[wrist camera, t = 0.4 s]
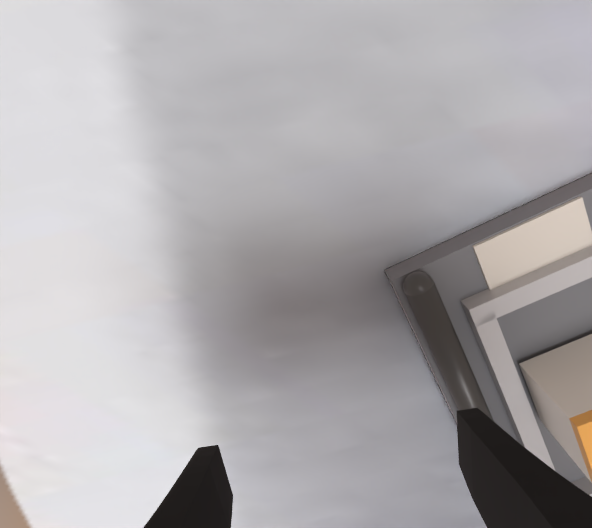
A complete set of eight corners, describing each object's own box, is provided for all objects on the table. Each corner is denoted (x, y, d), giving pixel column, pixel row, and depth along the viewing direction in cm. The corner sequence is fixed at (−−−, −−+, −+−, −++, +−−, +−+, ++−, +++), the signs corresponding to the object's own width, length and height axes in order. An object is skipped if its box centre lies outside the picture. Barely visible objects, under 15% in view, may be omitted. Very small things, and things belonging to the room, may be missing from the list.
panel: (708, 452, 25) (758, 493, 22) (504, 524, 27) (527, 570, 24) (642, 145, 19) (701, 150, 16) (382, 266, 21) (396, 289, 18)
